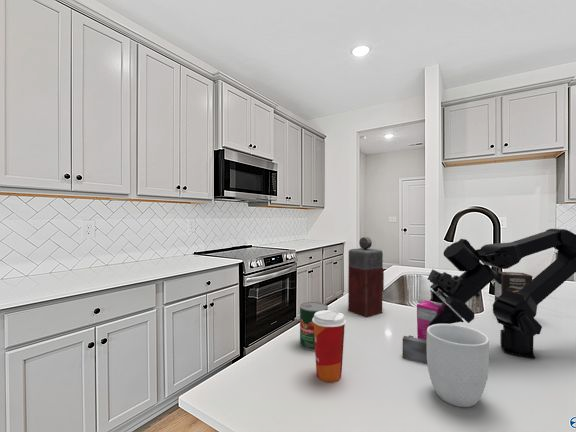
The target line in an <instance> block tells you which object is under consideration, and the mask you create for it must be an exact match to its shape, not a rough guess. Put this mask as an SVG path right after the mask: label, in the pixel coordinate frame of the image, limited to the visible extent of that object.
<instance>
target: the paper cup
mask: <svg viewBox="0 0 576 432" xmlns="http://www.w3.org/2000/svg"><path fill="white" fill-rule="evenodd" d="M312 321H313V322H314V338H315V351H314V353H315V354H314V355H315V369H316V371H315V372H316V377H317V378H318V379H319V380H320V381H321V382H326V383H336V382H339V381H340V380H341V379H342V373H343V359H344V358H343V357H344V343H345V342H344V340H345V328H346V327H345V325H346V324H347V320H346V318H345V315H344V314H343V313H342V312H338V311H335V310H332V309H328V310H323V311H318V312H316V313H315V314H314V317H313V319H312Z"/></svg>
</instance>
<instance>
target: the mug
mask: <svg viewBox="0 0 576 432" xmlns="http://www.w3.org/2000/svg"><path fill="white" fill-rule="evenodd" d="M426 341H427V363H426V365H427V369H428V370H427V371H428V375H429V379H430V381H431V385H432V387H433V389H434V391H435V392H436V394H437V395H438V396H439V398H440V399H441V400H443V401H444V402H446V403H447V404H450V405H452V406H456V407H459V408H470V407H473V406H475V405H476V404H477V403H478V402H479V400H480V399H481V398H482V396H483V393H484V391H485V389H486V385H487V382H488V375H489V367H490V365H489V364H490V357H489V356H490V340H489V337H488V336H487V335H486V334H485V333H483V332H481V331H479V330H478V329H475V328H472V327H468V326H466V325H465V326H464V325H460V324H456V323H452V324H434V325H431V326H429V327H428V328H427V340H426Z"/></svg>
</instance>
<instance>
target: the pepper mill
mask: <svg viewBox="0 0 576 432" xmlns="http://www.w3.org/2000/svg"><path fill="white" fill-rule="evenodd" d="M372 241H373V240H372V239H371V237H369V236H365V237H360V239H359V241H358V242H359V246H360V248H350V249H349V250H348V274H347V275H348V276H347V277H348V281H347V283H348V293H347V294H348V296H347V297H348V300H347V301H348V303H347V307H348V309H347V310H348V312H351V313H352V314H356V315H358V316H361V317H363V318H366V319H367V318H370V317H374V316H377V315H381V314H383V292H384V291H385V290H384V289H385V287H384V286H385V284H384V282H385V279H384V278H385V273H384V267H383V262H384V260H383V258H384V257H383V256H384V253H383V250H381V249H378V248H377V249H376V248H371V247H372V243H373V242H372Z"/></svg>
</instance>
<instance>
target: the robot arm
mask: <svg viewBox="0 0 576 432" xmlns="http://www.w3.org/2000/svg"><path fill="white" fill-rule="evenodd" d="M552 248H553V249H554V250H557V254H556V259H555V260H554V261H553V262H551V263H550V264H549V265H548V266H547V267H545V268H544V269H543V270H541V272H539V274H537V275H536V276H535V277H534V278H532V281H530V282H529V283H528V284H527V285H526V286H524V287H523V288H522V289H521V290H520V291H518V292H512V291H509V290H506V291H504V292H503V293H502V294H501V295H500V296H499V297H497V298H495V297H494V302H493V304H492V313H493V315H494V316H495V318H496V322H497V323H498V324H501V325H502V329H500V334H499V335H500V336H499V338H500V339H499V342H500V343H499V344H500V347H501V348H502V350H503V353H504V354H510V355H514V356H519V357H520V356H521V357H525V358H530V359H536V355H535V353H534V337H535V336H536V335H540V334H541V331H542V329H543V326H542V325H541V324H540V322H539V321H537V319H536V318H535V317H536V316H537V310H538V306H539V304H541V303H542V302H543V301H544V300H545V299H547V297H549V296H550V295H551V294H552V293H553V292H554V291H556V290H557V289H558V288H559V287H560V286H562V284H564V283H565V282H566V281H567V280H569V279H570V278H571V277H572V276H573V275H574V274H576V234H575V233H574V232H572V231H570V230H568V229H564V228H549V229H546V230H545V231H543V232H539V233H537V234H536V233H535V234H533V235H531V236H530V235H529V236H527V237H523V238H521V239H517V240H514V241H511V242H499V243H498V242H497V243H489V244H484V245H483V246H481V247H480V248H478V249H475V248H474V247H473V245H471V243H470V242H469V240H468V239H465V238H460V239H459V240H458V241H455V242H453V243H452V244H450V245H448V246H447V247H446V248H444V251H443V256H444V257H445V258H446V259H447V260H448V262H450V263H451V264H452V266H453V267H455V268H456V269H457V270H458V271H460V272H462V274H460V275H459V276H458V275H454V276H452V275H451V274H449V273H447V272H445V271H444V272H442V273H441V272H440V271H437V270H436V269H432V270H431V271H430V273H429V275H428V277H427V280H428V281H429V282H430V283H432V284H431V285H430V286H429V287H430V299H429V301H433V302H437V303H442V310H441V311H440V312H439V313H438V314H437V315H436V316H435V318H434V319H433V320H432V321H431V322H430V324H429V326H431V325H434V324H456V323H464V322H466V323H468V324H470V323H471V322H472V321H473V320H474V319H475V312H474V311H473V310H472V309H471V308H470V307H469V306H468V305H467V303H468V302H469V301H470V300H471V299H472V298H477V299H478V298H479V297H480V296H481V294H479V292H481V291H482V290H483V289H485V287H487V286H488V285H489V284H490V283H491V282H494V283H495V282H497V283H499V284H502V279H501V275H502V274H501V273H499V272H500V271H498V270H494V269H493V268H492V267H494V268H497V269H501V270H507V269H510V268H511V267H513V266H515V265H517V264H519V263H520V262H521V260H522V259H523V258H526V257H528V256H531V255H535V254H537V253H540V252H543V251H547V250H550V249H552ZM495 299H497V300H496V301H495ZM464 320H465V321H464Z"/></svg>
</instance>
